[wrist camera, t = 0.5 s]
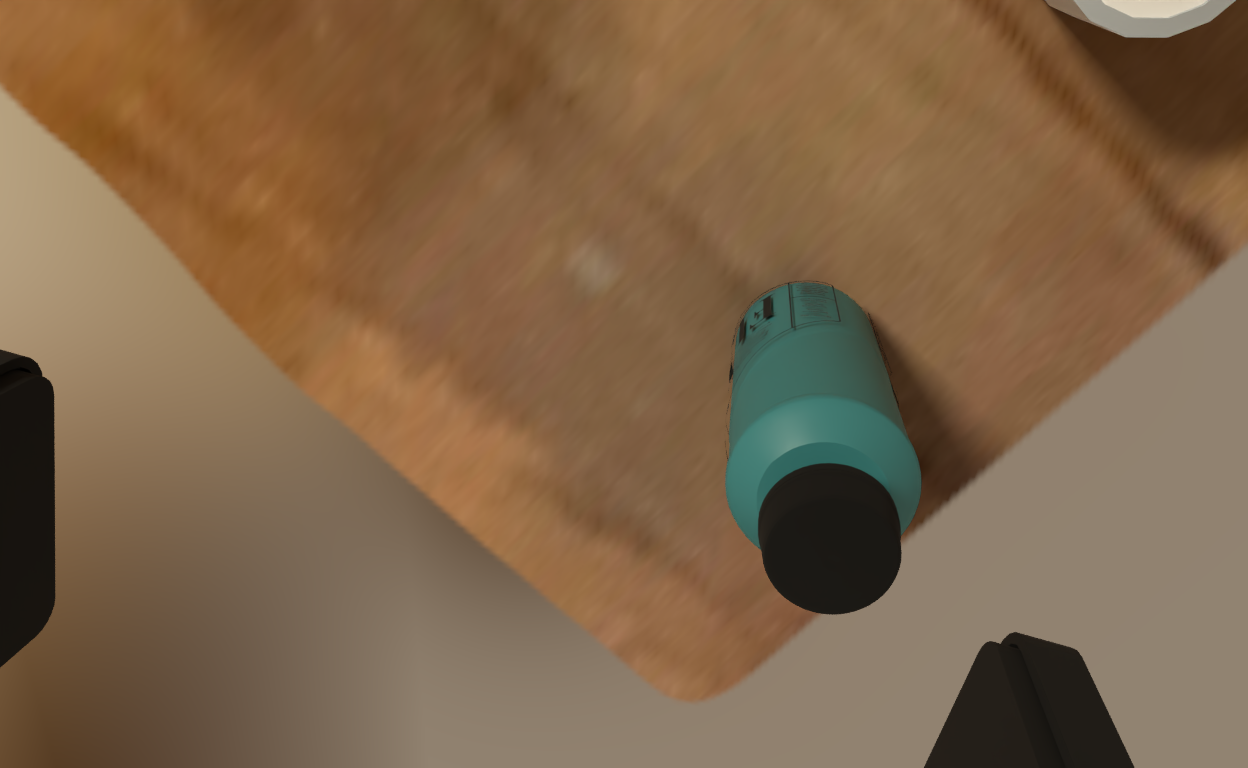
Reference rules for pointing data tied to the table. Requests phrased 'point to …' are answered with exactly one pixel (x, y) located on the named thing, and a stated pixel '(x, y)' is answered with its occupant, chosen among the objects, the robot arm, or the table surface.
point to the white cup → (1143, 15)
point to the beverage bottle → (818, 449)
